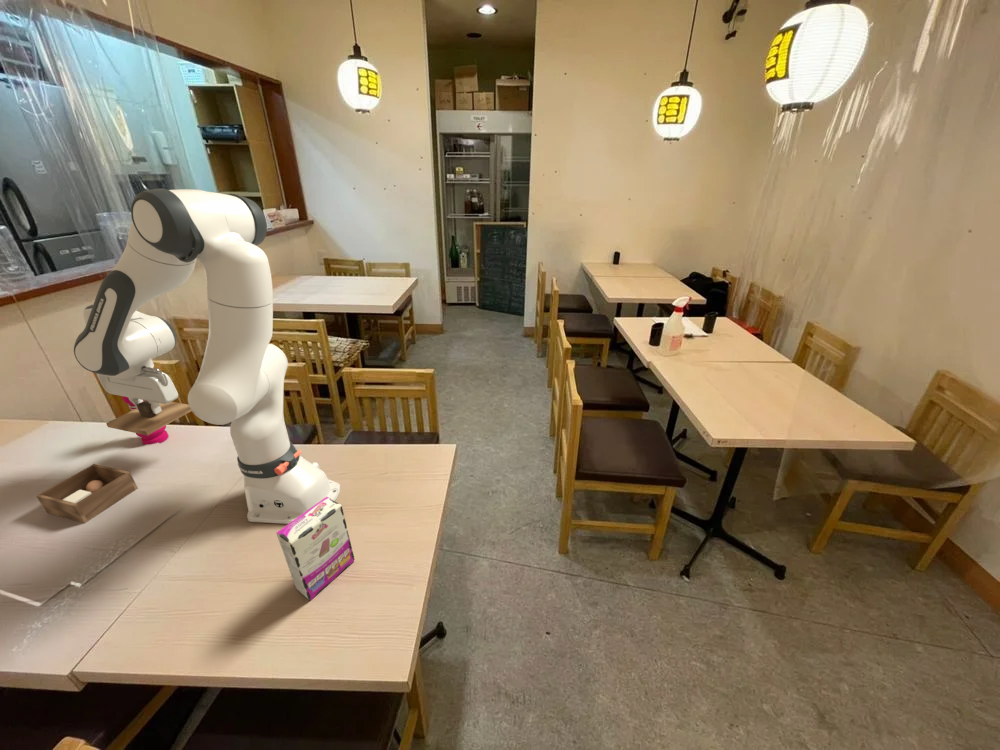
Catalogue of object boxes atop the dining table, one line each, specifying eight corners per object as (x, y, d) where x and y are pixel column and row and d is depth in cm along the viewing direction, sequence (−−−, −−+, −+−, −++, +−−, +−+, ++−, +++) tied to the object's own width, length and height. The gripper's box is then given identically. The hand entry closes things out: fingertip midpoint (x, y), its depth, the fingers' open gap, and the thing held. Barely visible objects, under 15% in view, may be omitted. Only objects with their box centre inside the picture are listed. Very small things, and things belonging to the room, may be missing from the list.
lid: (194, 409, 111) (189, 394, 109) (147, 435, 100) (140, 419, 98) (157, 402, 114) (151, 388, 112) (107, 427, 103) (100, 411, 100)
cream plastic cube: (97, 503, 99) (90, 492, 97) (80, 513, 95) (73, 502, 94) (86, 500, 99) (79, 489, 98) (69, 510, 96) (62, 499, 95)
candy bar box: (340, 550, 88) (327, 494, 81) (355, 560, 86) (343, 504, 79) (293, 589, 80) (274, 531, 72) (309, 602, 78) (291, 543, 70)
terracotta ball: (109, 488, 103) (103, 478, 102) (95, 496, 101) (89, 487, 99) (99, 485, 104) (94, 476, 103) (85, 494, 101) (80, 484, 100)
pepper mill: (154, 448, 119) (127, 390, 110) (134, 445, 120) (106, 387, 111) (176, 434, 125) (152, 378, 116) (157, 431, 127) (132, 375, 118)
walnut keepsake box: (139, 489, 104) (129, 472, 101) (86, 524, 93) (74, 505, 91) (104, 481, 106) (94, 463, 104) (48, 514, 96) (36, 496, 93)
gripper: (174, 364, 100) (192, 411, 107) (112, 354, 105) (133, 400, 111) (149, 375, 95) (169, 423, 101) (84, 364, 99) (108, 411, 105)
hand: (150, 411), depth 106 cm, fingers closed on lid, 3 cm apart
